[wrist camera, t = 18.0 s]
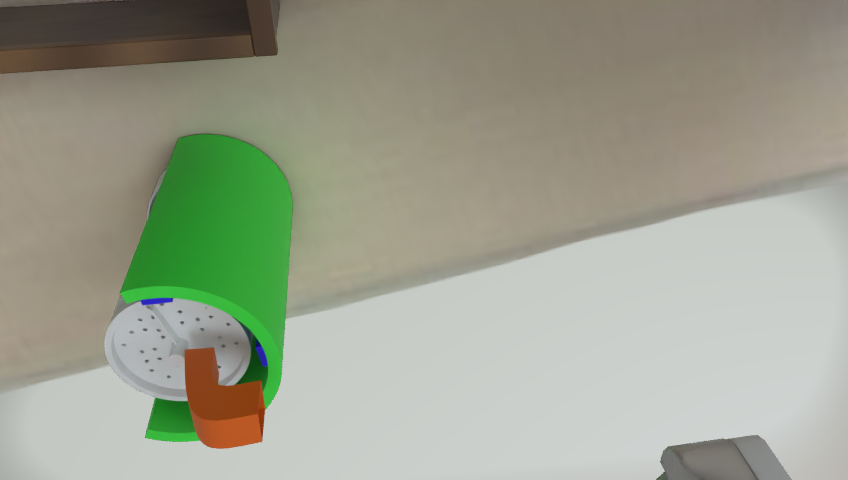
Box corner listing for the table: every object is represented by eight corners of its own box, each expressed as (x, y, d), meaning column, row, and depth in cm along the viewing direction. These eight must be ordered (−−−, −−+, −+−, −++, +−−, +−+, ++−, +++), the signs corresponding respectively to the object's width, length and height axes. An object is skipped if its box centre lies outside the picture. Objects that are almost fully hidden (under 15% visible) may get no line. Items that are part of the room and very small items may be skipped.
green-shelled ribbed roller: (127, 147, 40) (21, 374, 25) (269, 119, 40) (246, 328, 26) (183, 275, 45) (122, 526, 31) (308, 250, 46) (308, 486, 31)
